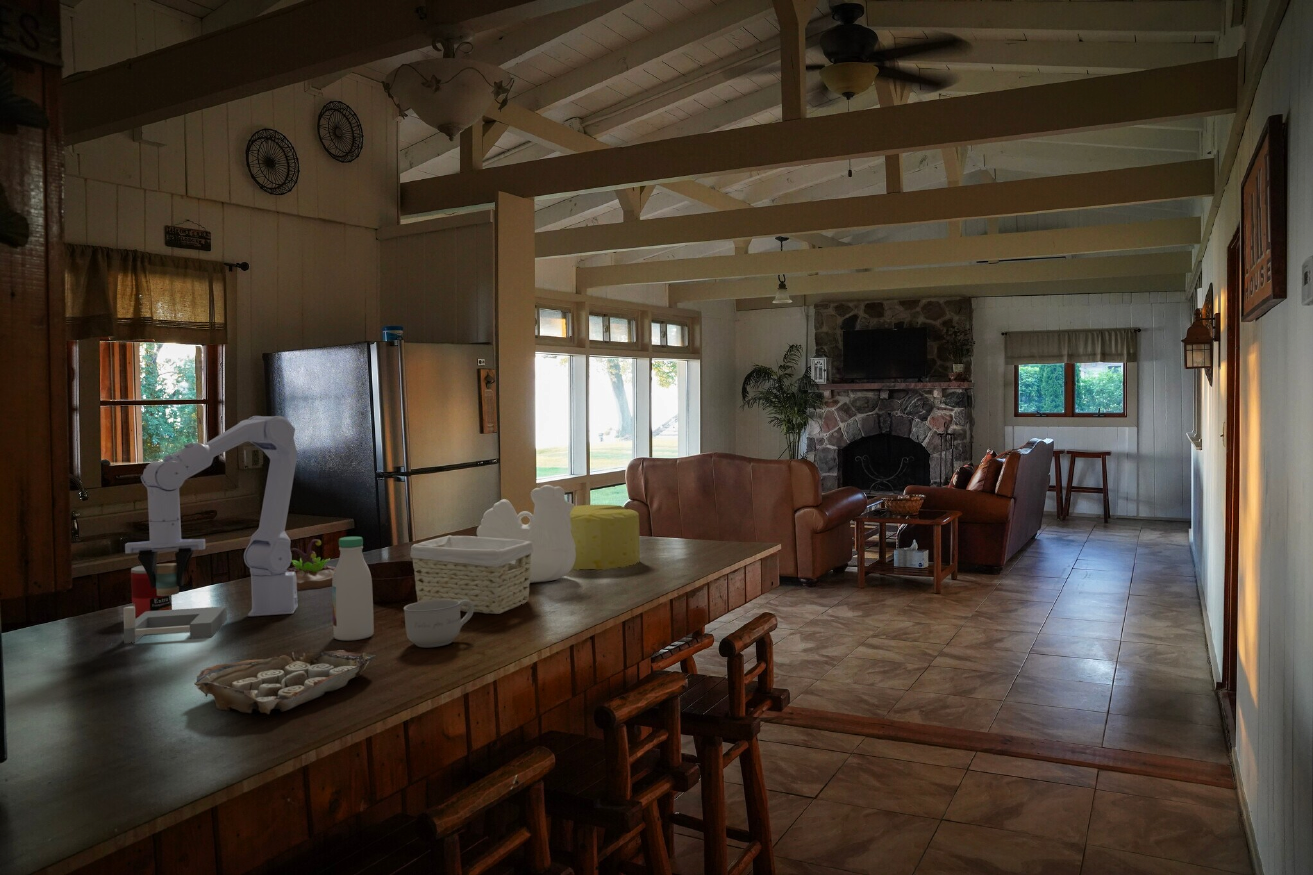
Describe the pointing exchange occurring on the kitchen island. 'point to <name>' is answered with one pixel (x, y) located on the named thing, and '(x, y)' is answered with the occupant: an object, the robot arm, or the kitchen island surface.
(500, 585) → the storage basket
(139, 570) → the canned food
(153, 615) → the grey u-shaped frame
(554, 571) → the decorative rooster
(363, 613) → the milk bottle
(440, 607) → the teacup
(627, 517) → the cheese
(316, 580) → the plant
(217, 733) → the kitchen island surface
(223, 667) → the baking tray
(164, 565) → the bobbin
